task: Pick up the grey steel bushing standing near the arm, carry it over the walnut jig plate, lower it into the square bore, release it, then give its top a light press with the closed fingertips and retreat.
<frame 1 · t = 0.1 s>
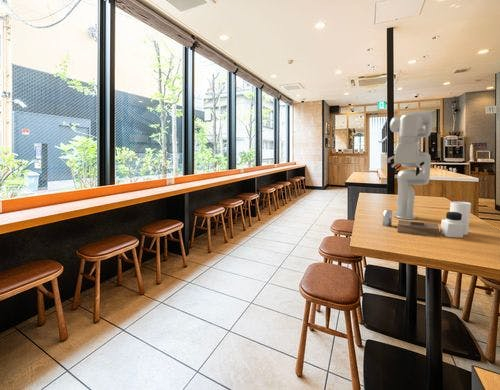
hand: (405, 175, 126), 31 cm above the table, fingers open, 9 cm apart
medicine bottle: (450, 235, 129), on the table
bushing: (387, 225, 150), on the table
jig: (417, 231, 137), on the table
cup: (457, 232, 134), on the table
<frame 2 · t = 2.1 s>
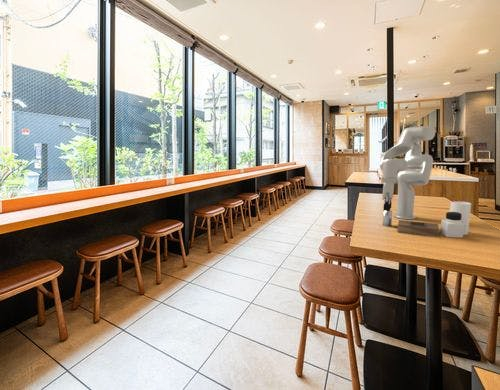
hand: (387, 209, 148), 10 cm above the table, fingers open, 9 cm apart
medicine bottle: (451, 235, 129), on the table, touching cup
cup: (457, 232, 134), on the table, touching medicine bottle
everything else where it was.
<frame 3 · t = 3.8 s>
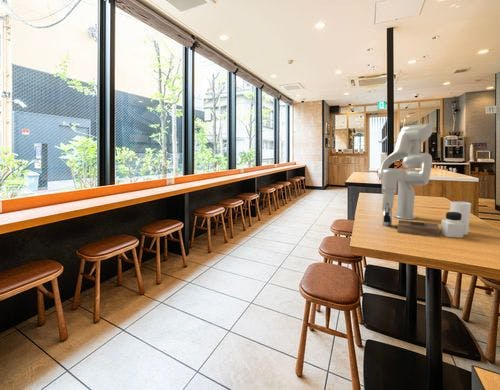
hand: (387, 220, 150), 3 cm above the table, fingers closed on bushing, 4 cm apart
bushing: (387, 225, 150), on the table, touching gripper
everything else where it was.
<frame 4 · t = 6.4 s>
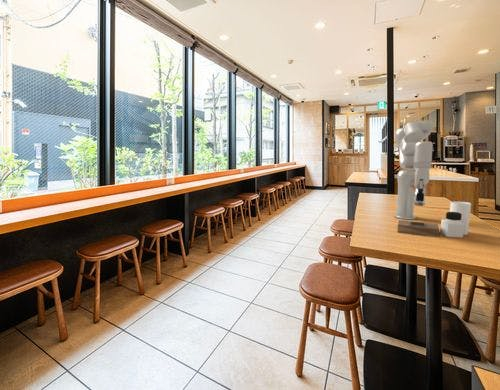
hand: (419, 199, 134), 17 cm above the table, fingers closed on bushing, 4 cm apart
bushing: (419, 205, 134), point 15 cm above the table, touching gripper
everything else where it was.
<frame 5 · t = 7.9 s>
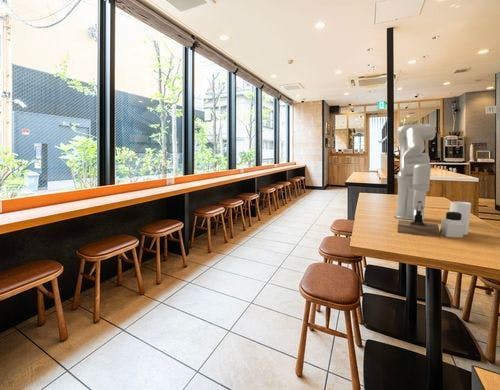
hand: (418, 220, 136), 6 cm above the table, fingers closed on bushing, 4 cm apart
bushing: (417, 225, 136), point 3 cm above the table, touching gripper
everything else where it was.
when the fingers open (5 cm above the table, at t = 9.1 s): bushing drops 2 cm, resting in jig.
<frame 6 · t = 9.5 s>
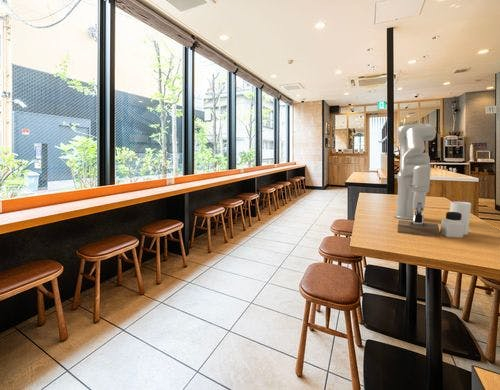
hand: (418, 220, 136), 6 cm above the table, fingers open, 9 cm apart
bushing: (417, 231, 137), resting in jig
everything else where it was.
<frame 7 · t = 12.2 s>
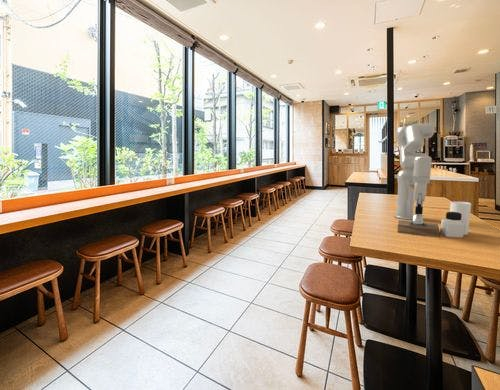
hand: (418, 213, 135), 10 cm above the table, fingers closed
nothing on the table moved.
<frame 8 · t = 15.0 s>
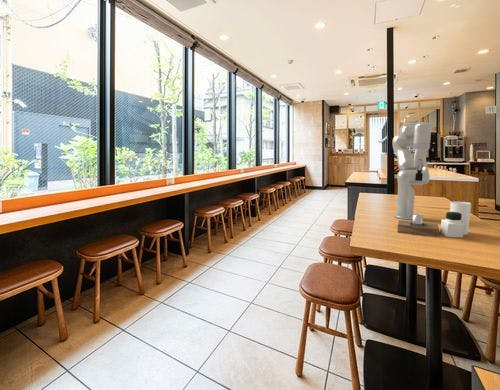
hand: (418, 180, 139), 27 cm above the table, fingers closed
nothing on the table moved.
at the end: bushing 0.1 cm off-centre on the jig, point 0.1 cm above the jig's base; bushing tilted 2°; the gripper is holding nothing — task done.
